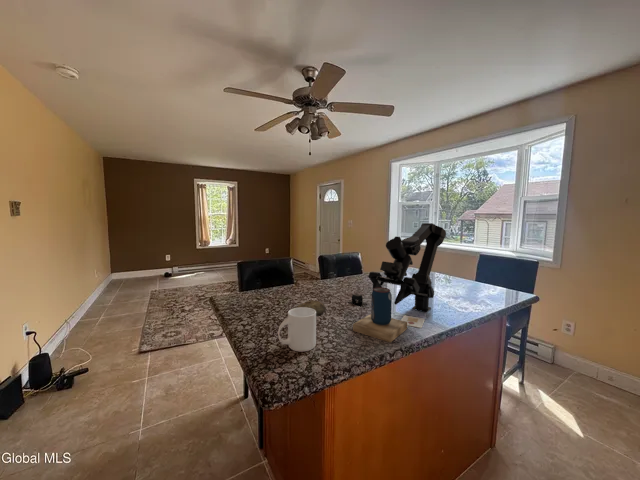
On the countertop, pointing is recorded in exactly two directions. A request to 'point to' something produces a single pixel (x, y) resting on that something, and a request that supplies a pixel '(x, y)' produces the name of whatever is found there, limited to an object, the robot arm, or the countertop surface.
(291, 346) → the mug
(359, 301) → the black angular block
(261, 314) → the countertop surface
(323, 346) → the countertop surface
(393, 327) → the oak slab
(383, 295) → the soda can
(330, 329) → the countertop surface
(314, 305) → the bread roll
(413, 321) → the page
